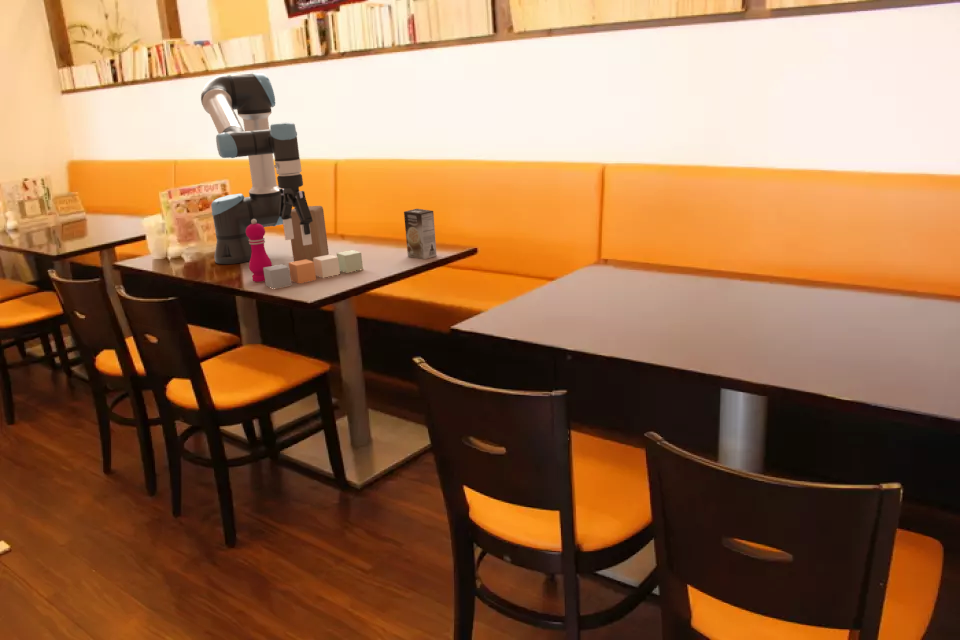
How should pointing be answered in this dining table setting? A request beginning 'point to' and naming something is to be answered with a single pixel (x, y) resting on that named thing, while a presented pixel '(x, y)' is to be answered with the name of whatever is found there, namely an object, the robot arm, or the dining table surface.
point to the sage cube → (350, 261)
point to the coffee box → (420, 233)
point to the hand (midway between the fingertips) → (298, 242)
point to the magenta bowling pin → (257, 251)
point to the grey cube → (277, 276)
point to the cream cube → (326, 265)
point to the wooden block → (317, 236)
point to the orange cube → (302, 271)
